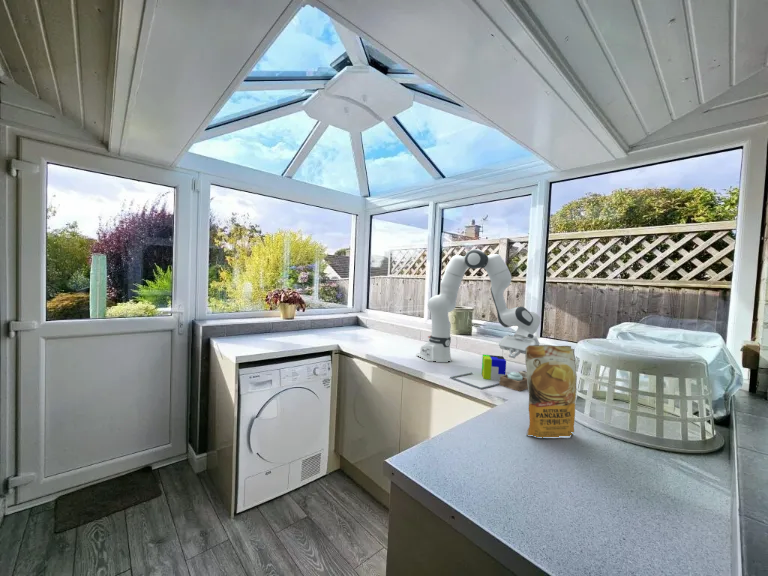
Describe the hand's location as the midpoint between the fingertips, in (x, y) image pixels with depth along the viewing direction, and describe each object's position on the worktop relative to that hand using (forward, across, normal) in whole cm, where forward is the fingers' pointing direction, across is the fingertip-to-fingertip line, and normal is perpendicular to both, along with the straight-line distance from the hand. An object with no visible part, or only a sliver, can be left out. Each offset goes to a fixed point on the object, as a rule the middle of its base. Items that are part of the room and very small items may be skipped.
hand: (511, 357), depth 170 cm
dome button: (+17, +13, -9) cm, 23 cm away
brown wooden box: (+17, +13, -4) cm, 22 cm away
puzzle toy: (+17, -1, -4) cm, 17 cm away
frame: (+26, -1, -13) cm, 29 cm away
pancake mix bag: (+44, +46, -31) cm, 71 cm away
